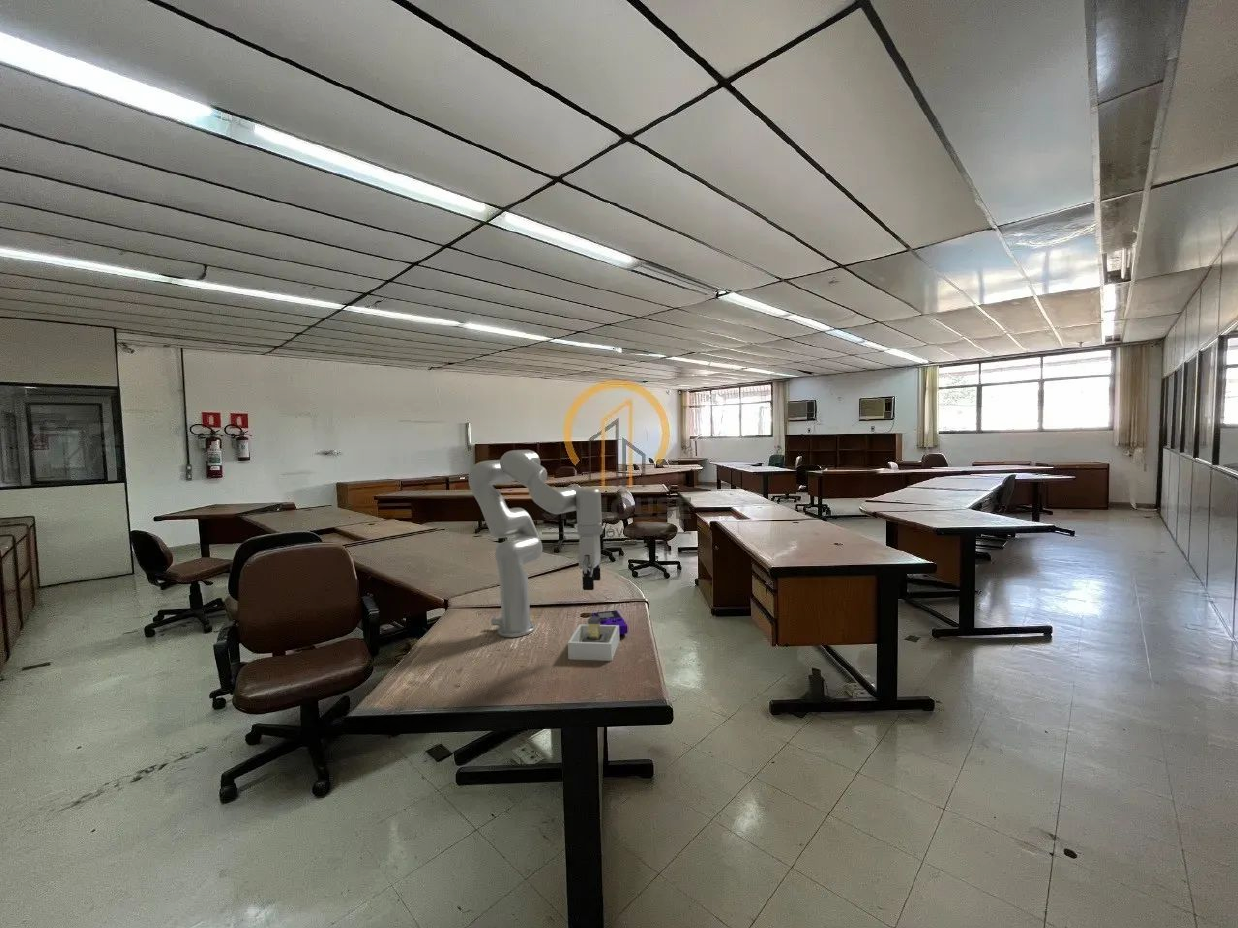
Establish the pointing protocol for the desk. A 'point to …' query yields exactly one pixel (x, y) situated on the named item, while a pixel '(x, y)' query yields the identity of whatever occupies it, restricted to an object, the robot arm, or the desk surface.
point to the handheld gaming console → (612, 620)
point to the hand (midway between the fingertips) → (592, 584)
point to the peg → (594, 628)
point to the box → (594, 644)
